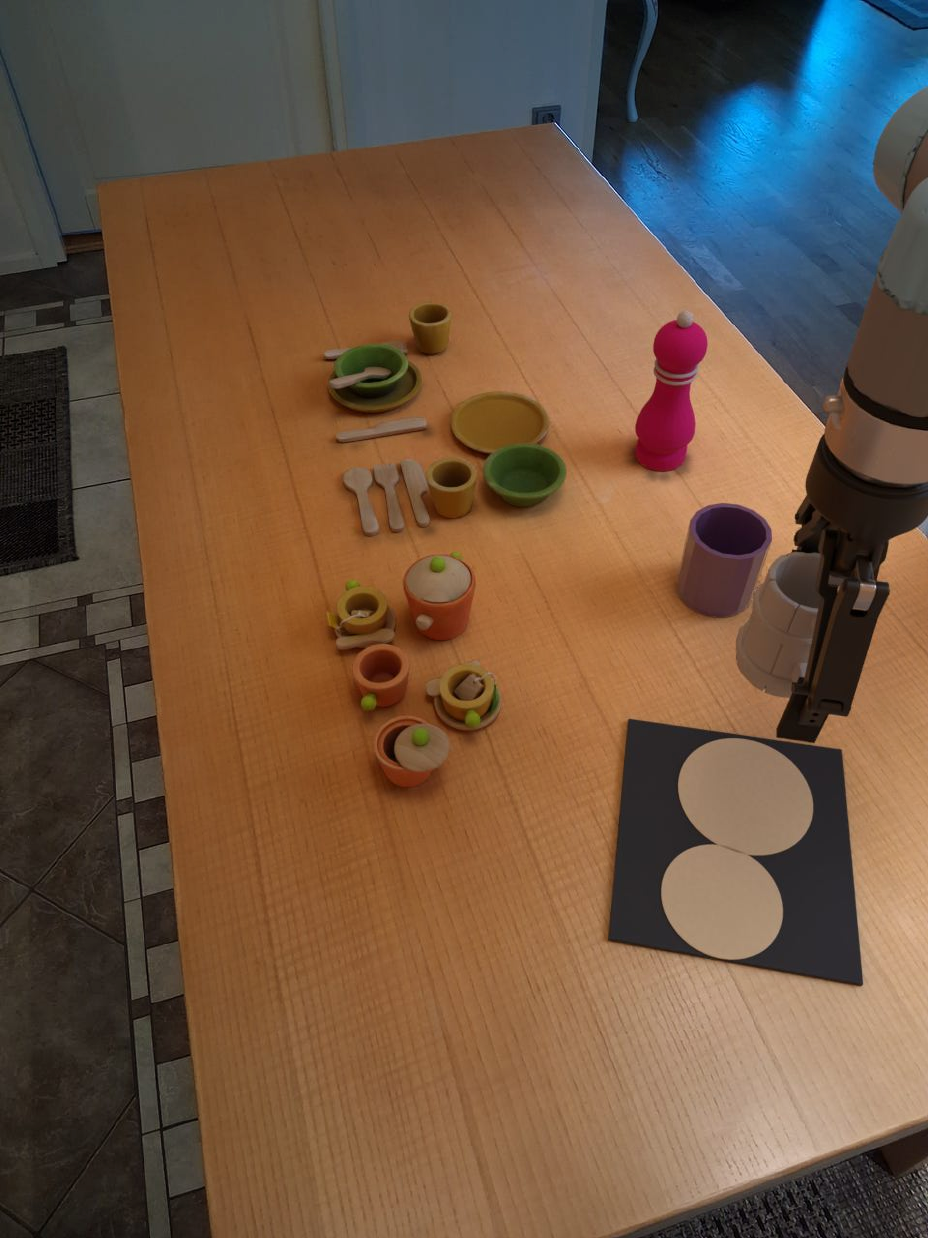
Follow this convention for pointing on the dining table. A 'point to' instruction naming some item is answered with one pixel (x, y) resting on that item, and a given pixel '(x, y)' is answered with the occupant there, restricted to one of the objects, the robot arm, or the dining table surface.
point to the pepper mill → (671, 395)
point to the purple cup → (723, 559)
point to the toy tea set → (383, 669)
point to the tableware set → (479, 423)
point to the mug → (781, 624)
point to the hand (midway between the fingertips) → (791, 669)
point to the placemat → (736, 852)
